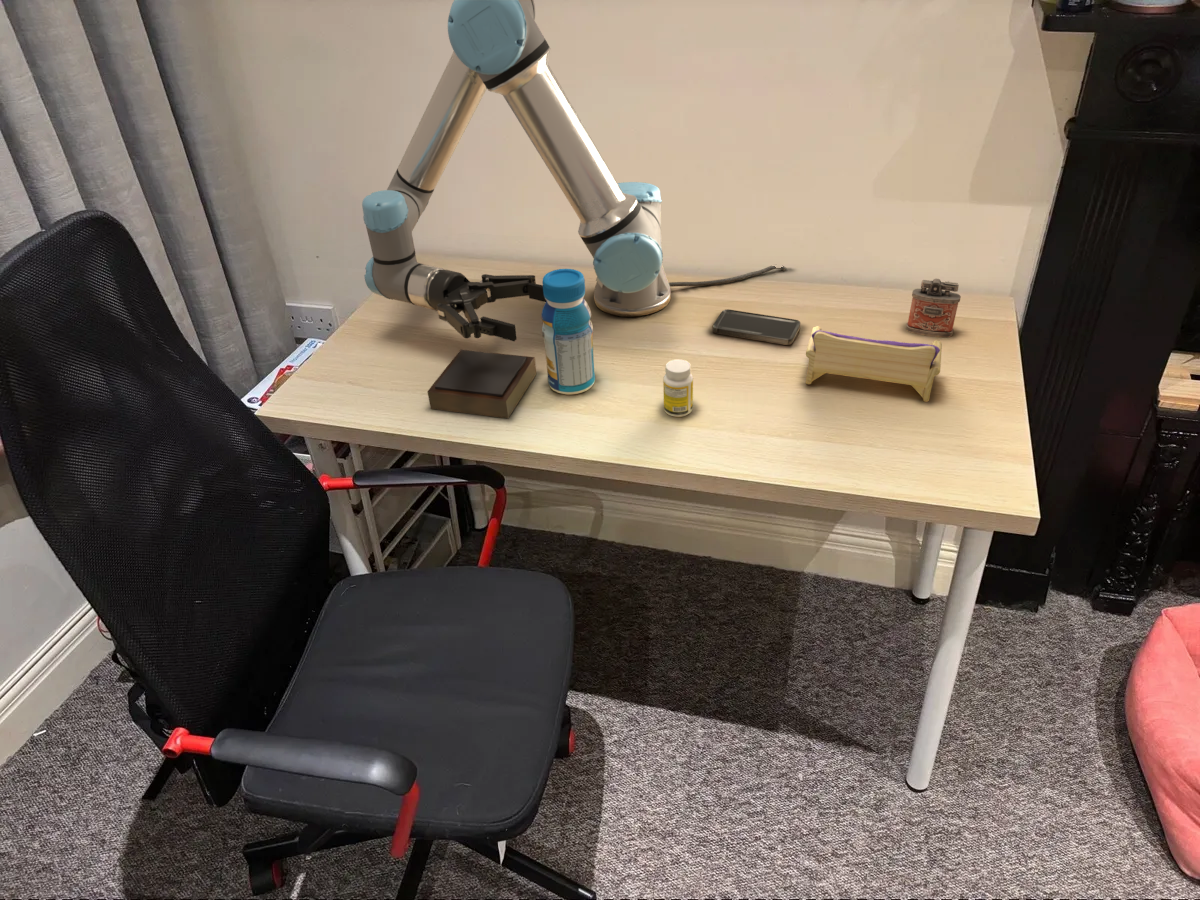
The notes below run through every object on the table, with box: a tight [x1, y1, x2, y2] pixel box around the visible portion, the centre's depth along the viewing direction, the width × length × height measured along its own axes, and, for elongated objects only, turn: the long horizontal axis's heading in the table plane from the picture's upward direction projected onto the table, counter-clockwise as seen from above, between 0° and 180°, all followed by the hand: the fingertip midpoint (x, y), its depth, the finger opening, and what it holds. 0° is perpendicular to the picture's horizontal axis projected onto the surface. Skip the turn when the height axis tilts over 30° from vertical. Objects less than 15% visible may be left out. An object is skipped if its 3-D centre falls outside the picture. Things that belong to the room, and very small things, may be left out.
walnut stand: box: [427, 348, 537, 420], centre depth 147 cm, size 14×14×4 cm
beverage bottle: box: [540, 268, 596, 395], centre depth 143 cm, size 8×8×20 cm
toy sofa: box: [805, 325, 943, 402], centre depth 141 cm, size 21×9×10 cm, turn 71°
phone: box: [712, 308, 801, 346], centre depth 160 cm, size 8×1×15 cm
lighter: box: [905, 278, 962, 338], centre depth 153 cm, size 8×3×10 cm, turn 68°
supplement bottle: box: [662, 358, 694, 418], centre depth 138 cm, size 5×5×8 cm
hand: (538, 315), depth 144 cm, fingers open, 13 cm apart
